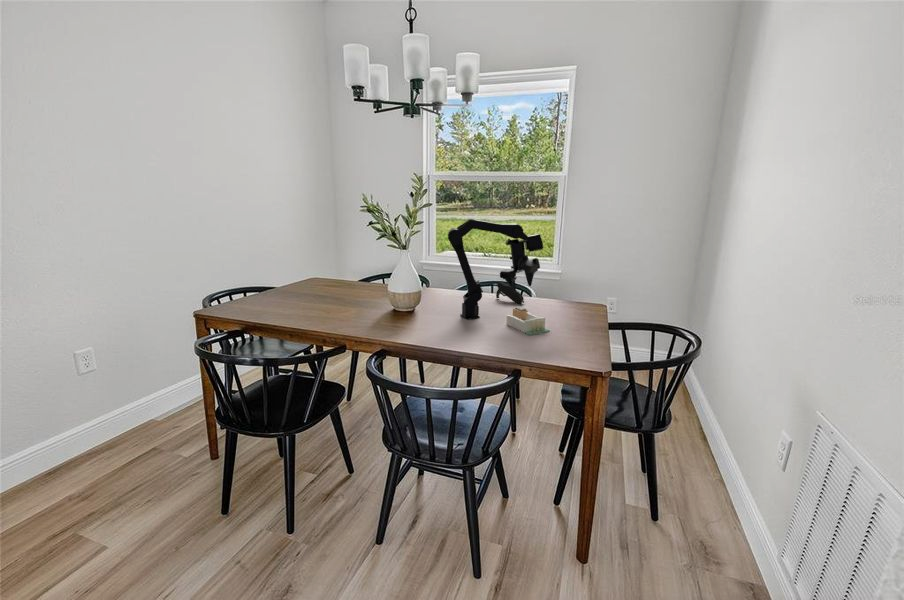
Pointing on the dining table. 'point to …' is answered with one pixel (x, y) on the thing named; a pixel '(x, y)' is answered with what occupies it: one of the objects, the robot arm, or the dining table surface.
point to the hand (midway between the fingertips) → (522, 289)
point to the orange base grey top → (520, 312)
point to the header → (528, 324)
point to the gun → (509, 293)
